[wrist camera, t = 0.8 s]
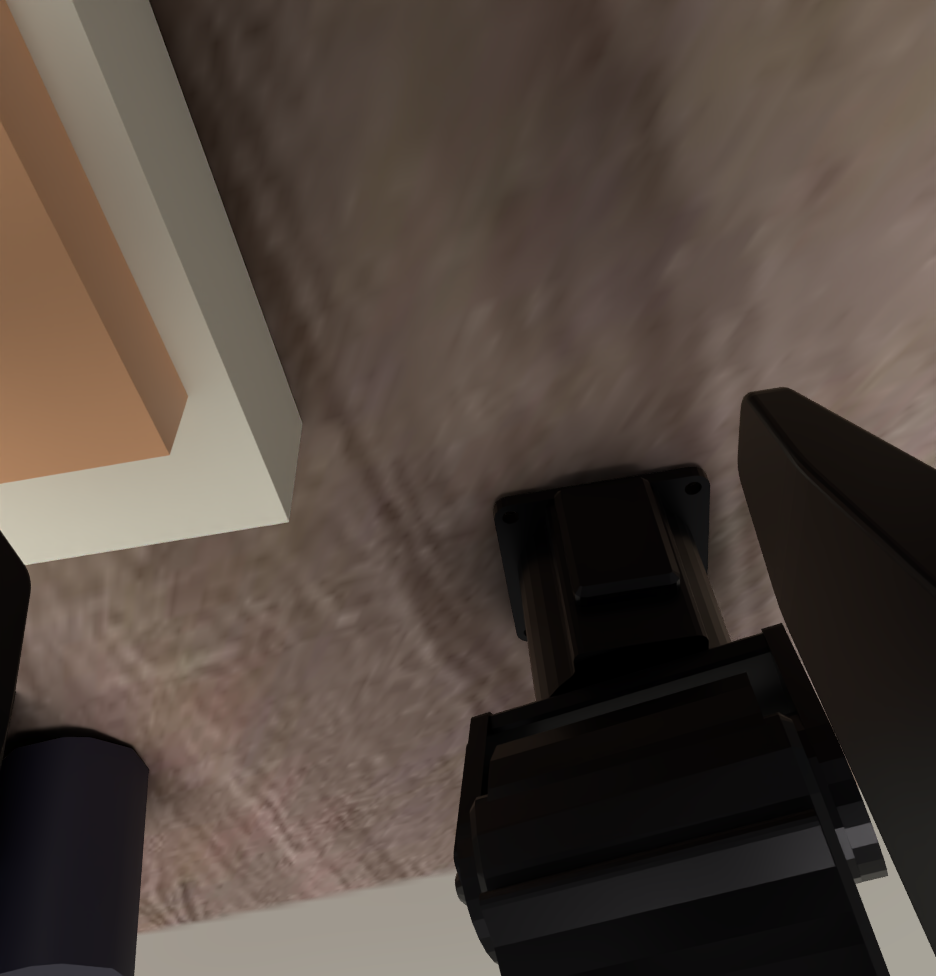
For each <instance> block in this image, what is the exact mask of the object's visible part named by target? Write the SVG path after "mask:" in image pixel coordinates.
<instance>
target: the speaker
mask: <svg viewBox="0 0 936 976" xmlns="http://www.w3.org/2000/svg"><path fill="white" fill-rule="evenodd" d="M15 693H16V692H15ZM14 698H15V696H14ZM13 703H14V701H13ZM12 708H13V706H12ZM11 713H12V711H11ZM10 718H11V717H10ZM9 723H10V721H9ZM8 728H9V726H8ZM7 734H8V730H7ZM7 734H6V738H5V742H4V746H3V749H2V753H1V756H0V976H134V970H135V955H136V941H137V928H138V914H139V900H140V886H141V872H142V858H143V844H144V830H145V816H146V802H147V788H148V774H149V769H148V768H147V766H146V765H145V764H144V763H143V761H142V760H141V759H140V758H139V756H138V755H137V754H136V753H135V751H134V750H133V749H132V748H128V747H124V746H121V745H117V744H113V743H110V742H106V741H102V740H99V739H95V738H91V737H62V738H58V739H53V740H49V741H45V742H41V743H36V744H32V745H28V746H24V747H19V748H16V749H15V750H14V751H12V752H11V753H10V754H9V755H8V756H7V757H6V758H4V759H3V754H4V749H5V744H6V739H7ZM2 759H3V760H2Z"/></svg>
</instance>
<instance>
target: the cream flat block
mask: <svg viewBox="0 0 936 976" xmlns="http://www.w3.org/2000/svg"><path fill="white" fill-rule="evenodd" d="M6 2H7V5H8V7H9V9H10V11H11V13H12V15H13V18H14V20H15V22H16V24H17V26H18V28H19V31H20V33H21V35H22V37H23V39H24V41H25V44H26V46H27V48H28V50H29V52H30V54H31V57H32V59H33V61H34V63H35V65H36V67H37V70H38V72H39V74H40V76H41V78H42V80H43V83H44V85H45V87H46V89H47V91H48V94H49V96H50V98H51V100H52V102H53V104H54V107H55V109H56V111H57V113H58V115H59V117H60V120H61V122H62V124H63V126H64V128H65V130H66V133H67V135H68V137H69V139H70V141H71V143H72V146H73V148H74V150H75V152H76V154H77V156H78V159H79V161H80V163H81V165H82V167H83V169H84V172H85V174H86V176H87V178H88V180H89V182H90V185H91V187H92V189H93V191H94V193H95V195H96V198H97V200H98V202H99V204H100V206H101V208H102V211H103V213H104V215H105V217H106V219H107V221H108V224H109V226H110V228H111V230H112V232H113V234H114V237H115V239H116V241H117V243H118V245H119V247H120V250H121V252H122V254H123V256H124V258H125V260H126V263H127V265H128V267H129V269H130V271H131V273H132V276H133V278H134V280H135V282H136V284H137V286H138V289H139V291H140V293H141V295H142V297H143V299H144V302H145V304H146V306H147V308H148V310H149V312H150V315H151V317H152V319H153V321H154V323H155V325H156V328H157V330H158V332H159V334H160V336H161V338H162V341H163V343H164V345H165V347H166V349H167V351H168V354H169V356H170V358H171V360H172V362H173V364H174V367H175V369H176V371H177V373H178V375H179V377H180V380H181V382H182V384H183V386H184V388H185V390H186V393H187V395H188V399H187V402H186V405H185V409H184V412H183V415H182V418H181V421H180V424H179V428H178V431H177V434H176V437H175V440H174V443H173V447H172V450H171V453H170V455H168V456H162V457H156V458H150V459H144V460H138V461H132V462H126V463H120V464H114V465H109V466H103V467H97V468H91V469H85V470H79V471H73V472H67V473H61V474H55V475H49V476H43V477H37V478H32V479H26V480H20V481H14V482H8V483H2V484H0V530H1V532H2V533H3V535H4V536H5V538H6V539H7V540H8V542H9V543H10V545H11V546H12V547H13V549H14V550H15V552H16V553H17V555H18V556H19V557H20V559H21V560H22V562H23V563H24V565H29V564H35V563H41V562H47V561H53V560H59V559H65V558H72V557H78V556H84V555H90V554H96V553H102V552H108V551H115V550H121V549H127V548H133V547H139V546H145V545H152V544H158V543H164V542H170V541H176V540H182V539H188V538H195V537H201V536H207V535H213V534H219V533H225V532H232V531H238V530H244V529H250V528H256V527H262V526H268V525H275V524H281V523H287V522H289V519H290V512H291V504H292V497H293V490H294V483H295V475H296V468H297V461H298V454H299V446H300V439H301V432H302V425H303V423H302V420H301V418H300V415H299V412H298V409H297V407H296V404H295V401H294V398H293V396H292V393H291V390H290V387H289V385H288V382H287V379H286V376H285V374H284V371H283V368H282V365H281V363H280V360H279V357H278V354H277V352H276V349H275V346H274V343H273V341H272V338H271V335H270V332H269V330H268V327H267V324H266V321H265V319H264V316H263V313H262V310H261V308H260V305H259V302H258V299H257V297H256V294H255V291H254V288H253V286H252V283H251V280H250V277H249V275H248V272H247V269H246V266H245V264H244V261H243V258H242V255H241V252H240V250H239V247H238V244H237V241H236V239H235V236H234V233H233V230H232V228H231V225H230V222H229V219H228V217H227V214H226V211H225V208H224V206H223V203H222V200H221V197H220V195H219V192H218V189H217V186H216V184H215V181H214V178H213V175H212V173H211V170H210V167H209V164H208V162H207V159H206V156H205V153H204V151H203V148H202V145H201V142H200V140H199V137H198V134H197V131H196V129H195V126H194V123H193V120H192V118H191V115H190V112H189V109H188V107H187V104H186V101H185V98H184V96H183V93H182V90H181V87H180V85H179V82H178V79H177V76H176V74H175V71H174V68H173V65H172V63H171V60H170V57H169V54H168V52H167V49H166V46H165V43H164V41H163V38H162V35H161V32H160V30H159V27H158V24H157V21H156V19H155V16H154V13H153V10H152V8H151V5H150V2H149V0H6Z"/></svg>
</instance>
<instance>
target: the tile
mask: <svg viewBox="0 0 936 976" xmlns="http://www.w3.org/2000/svg"><path fill="white" fill-rule="evenodd" d="M187 399H188V395H187V393H186V390H185V388H184V386H183V384H182V382H181V380H180V377H179V375H178V373H177V371H176V369H175V367H174V364H173V362H172V360H171V358H170V356H169V354H168V351H167V349H166V347H165V345H164V343H163V341H162V338H161V336H160V334H159V332H158V330H157V328H156V325H155V323H154V321H153V319H152V317H151V315H150V312H149V310H148V308H147V306H146V304H145V302H144V299H143V297H142V295H141V293H140V291H139V289H138V286H137V284H136V282H135V280H134V278H133V276H132V273H131V271H130V269H129V267H128V265H127V263H126V260H125V258H124V256H123V254H122V252H121V250H120V247H119V245H118V243H117V241H116V239H115V237H114V234H113V232H112V230H111V228H110V226H109V224H108V221H107V219H106V217H105V215H104V213H103V211H102V208H101V206H100V204H99V202H98V200H97V198H96V195H95V193H94V191H93V189H92V187H91V185H90V182H89V180H88V178H87V176H86V174H85V172H84V169H83V167H82V165H81V163H80V161H79V159H78V156H77V154H76V152H75V150H74V148H73V146H72V143H71V141H70V139H69V137H68V135H67V133H66V130H65V128H64V126H63V124H62V122H61V120H60V117H59V115H58V113H57V111H56V109H55V107H54V104H53V102H52V100H51V98H50V96H49V94H48V91H47V89H46V87H45V85H44V83H43V80H42V78H41V76H40V74H39V72H38V70H37V67H36V65H35V63H34V61H33V59H32V57H31V54H30V52H29V50H28V48H27V46H26V44H25V41H24V39H23V37H22V35H21V33H20V31H19V28H18V26H17V24H16V22H15V20H14V18H13V15H12V13H11V11H10V9H9V7H8V5H7V2H6V0H0V484H2V483H8V482H14V481H20V480H26V479H32V478H37V477H43V476H49V475H55V474H61V473H67V472H73V471H79V470H85V469H91V468H97V467H103V466H109V465H114V464H120V463H126V462H132V461H138V460H144V459H150V458H156V457H162V456H168V455H170V453H171V450H172V447H173V443H174V440H175V437H176V434H177V431H178V428H179V424H180V421H181V418H182V415H183V412H184V409H185V405H186V402H187Z"/></svg>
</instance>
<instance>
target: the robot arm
mask: <svg viewBox="0 0 936 976" xmlns="http://www.w3.org/2000/svg"><path fill="white" fill-rule="evenodd" d="M738 471H739V477H740V481H741V485H742V488H743V491H744V494H745V498H746V501H747V504H748V508H749V511H750V514H751V517H752V521H753V524H754V527H755V531H756V534H757V537H758V540H759V544H760V547H761V550H762V554H763V557H764V560H765V563H766V567H767V570H768V573H769V577H770V580H771V583H772V587H773V590H774V593H775V596H776V599H777V602H778V605H779V608H780V610H781V613H782V615H783V618H784V620H785V622H786V625H787V627H788V630H789V632H790V634H791V636H792V639H793V641H794V643H795V645H796V647H797V650H798V652H799V654H800V656H801V659H802V661H803V663H804V665H805V667H806V670H807V672H808V674H809V676H810V679H811V681H812V683H813V685H814V687H815V690H816V692H817V694H818V696H819V699H820V701H821V703H822V705H823V707H824V710H825V712H826V714H827V716H828V718H827V716H826V714H825V712H824V710H823V708H822V705H821V703H820V701H819V699H818V697H817V695H816V693H815V691H814V689H813V687H812V685H811V683H810V680H809V678H808V676H807V674H806V672H805V670H804V668H803V666H802V664H801V662H800V660H799V658H798V656H797V653H796V651H795V649H794V647H793V645H792V643H791V641H790V639H789V637H788V635H787V633H786V631H785V628H784V626H783V624H782V623H780V624H777V625H774V626H770V627H767V628H764V629H761V630H762V633H759V634H756V635H753V636H750V637H746V638H743V639H740V640H736V641H733V642H731V640H730V637H729V634H728V631H727V629H726V626H725V623H724V620H723V618H722V615H721V612H720V610H719V607H718V604H717V601H716V599H715V596H714V593H713V590H712V588H711V585H710V582H709V580H708V577H707V569H708V536H709V504H710V483H709V480H708V478H707V475H706V473H705V472H704V471H703V470H702V469H701V468H698V467H688V468H681V469H675V470H669V471H663V472H657V473H651V474H644V475H638V476H632V477H626V478H620V479H614V480H607V481H601V482H595V483H589V484H583V485H576V486H570V487H564V488H558V489H552V490H546V491H539V492H533V493H527V494H521V495H515V496H508V497H505V498H502V499H500V500H499V501H497V502H496V504H495V505H494V508H493V513H494V521H495V526H496V531H497V536H498V541H499V546H500V551H501V556H502V562H503V567H504V572H505V577H506V582H507V587H508V592H509V597H510V602H511V607H512V612H513V617H514V622H515V628H516V633H517V636H518V637H519V638H520V639H521V640H524V641H527V642H528V649H529V656H530V663H531V670H532V677H533V684H534V691H535V698H536V702H532V703H529V704H526V705H522V706H519V707H516V708H513V709H509V710H506V711H503V712H499V713H496V714H492V713H491V712H488V713H485V714H481V715H478V716H475V717H472V718H471V724H470V732H469V740H468V744H467V746H466V754H465V763H464V771H463V779H462V787H461V796H460V804H459V812H458V821H457V829H456V837H455V845H454V863H455V867H456V870H457V874H456V878H455V886H456V891H457V895H458V897H459V899H460V900H461V901H462V902H463V903H464V904H465V905H467V907H468V910H469V914H470V917H471V920H472V923H473V925H474V928H475V930H476V933H477V935H478V938H479V940H480V942H481V943H482V945H483V947H484V949H485V951H486V952H487V954H488V955H489V956H490V957H491V959H492V960H493V961H494V962H495V963H497V964H498V965H499V969H500V973H501V976H890V974H889V972H888V969H887V966H886V964H885V961H884V958H883V956H882V953H881V951H880V948H879V945H878V942H877V940H876V937H875V935H874V932H873V929H872V927H871V924H870V921H869V919H868V916H867V913H866V911H865V908H864V905H863V903H862V900H861V898H860V895H859V892H858V890H857V887H856V883H861V882H864V881H868V880H873V879H877V878H881V877H885V876H888V873H887V868H886V865H885V861H884V858H883V855H882V852H881V849H880V846H879V843H878V840H877V837H876V834H875V832H874V829H873V826H872V823H871V821H870V818H869V815H868V813H867V810H866V808H865V805H864V802H863V800H862V797H861V795H860V792H859V790H858V787H857V785H856V782H855V780H854V777H853V775H852V772H853V774H854V776H855V779H856V781H857V783H858V785H859V787H860V790H861V792H862V794H863V796H864V799H865V801H866V803H867V805H868V807H869V810H870V812H871V814H872V816H873V819H874V821H875V823H876V825H877V827H878V829H879V832H880V834H881V836H882V839H883V841H884V843H885V845H886V847H887V850H888V852H889V854H890V856H891V859H892V861H893V863H894V865H895V867H896V870H897V872H898V874H899V876H900V879H901V881H902V883H903V885H904V887H905V890H906V891H907V894H908V896H909V899H910V901H911V903H912V905H913V907H914V910H915V912H916V914H917V916H918V919H919V921H920V923H921V925H922V927H923V930H924V932H925V934H926V936H927V939H928V941H929V943H930V945H931V947H932V949H933V952H934V954H935V956H936V469H934V468H933V467H931V466H929V465H927V464H925V463H924V462H922V461H920V460H918V459H916V458H915V457H913V456H911V455H909V454H907V453H906V452H904V451H902V450H900V449H898V448H897V447H895V446H893V445H891V444H889V443H888V442H886V441H884V440H882V439H880V438H879V437H877V436H875V435H873V434H871V433H870V432H868V431H866V430H864V429H862V428H861V427H859V426H857V425H855V424H853V423H852V422H850V421H848V420H846V419H844V418H843V417H841V416H839V415H837V414H835V413H834V412H832V411H830V410H828V409H826V408H825V407H823V406H821V405H819V404H817V403H816V402H814V401H812V400H810V399H808V398H807V397H805V396H803V395H801V394H799V393H798V392H796V391H794V390H792V389H790V388H786V387H779V388H773V389H767V390H760V391H754V392H750V393H748V394H746V395H745V397H744V398H743V400H742V403H741V411H740V427H739V442H738ZM692 482H696V483H695V484H694V485H691V486H687V485H688V484H689V483H692ZM509 511H512V512H515V513H514V514H511V515H506V514H505V513H507V512H509ZM30 592H31V581H30V576H29V573H28V570H27V568H26V566H25V565H24V563H23V562H22V560H21V559H20V557H19V556H18V555H17V553H16V552H15V550H14V549H13V547H12V546H11V545H10V543H9V542H8V540H7V539H6V538H5V536H4V535H3V533H2V532H1V530H0V756H1V753H2V749H3V746H4V742H5V738H6V734H7V730H8V726H9V721H10V717H11V711H12V706H13V701H14V696H15V689H16V683H17V676H18V670H19V663H20V657H21V650H22V644H23V638H24V631H25V625H26V618H27V612H28V605H29V599H30ZM828 719H829V720H828ZM829 721H830V722H829ZM830 723H831V724H830ZM831 725H832V726H831ZM832 727H833V729H832ZM833 730H834V731H833ZM834 732H835V733H834ZM835 734H836V735H835ZM836 736H837V737H836ZM838 741H839V742H838ZM839 743H840V744H839ZM840 745H841V746H840ZM841 747H842V749H841ZM842 750H843V751H842ZM843 752H844V753H843ZM844 754H845V756H846V758H845V756H844ZM846 759H847V760H846ZM847 761H848V763H849V765H850V767H851V770H852V772H851V770H850V768H849V765H848V763H847Z"/></svg>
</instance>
